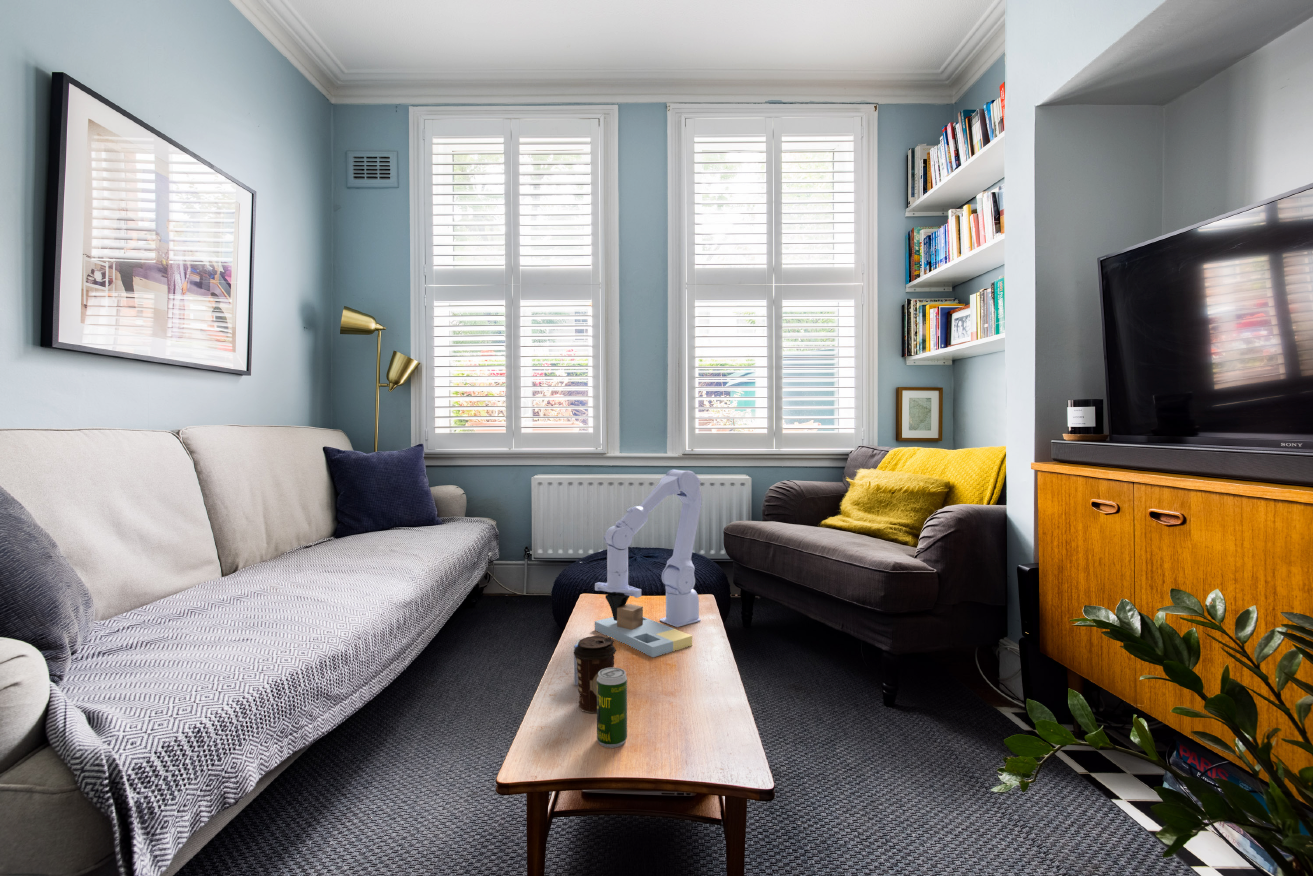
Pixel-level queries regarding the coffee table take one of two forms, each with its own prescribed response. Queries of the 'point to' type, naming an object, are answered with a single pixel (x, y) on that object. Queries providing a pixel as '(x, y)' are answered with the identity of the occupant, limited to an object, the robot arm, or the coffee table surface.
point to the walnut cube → (629, 616)
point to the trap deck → (646, 636)
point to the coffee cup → (592, 667)
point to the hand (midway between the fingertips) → (617, 619)
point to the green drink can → (611, 707)
